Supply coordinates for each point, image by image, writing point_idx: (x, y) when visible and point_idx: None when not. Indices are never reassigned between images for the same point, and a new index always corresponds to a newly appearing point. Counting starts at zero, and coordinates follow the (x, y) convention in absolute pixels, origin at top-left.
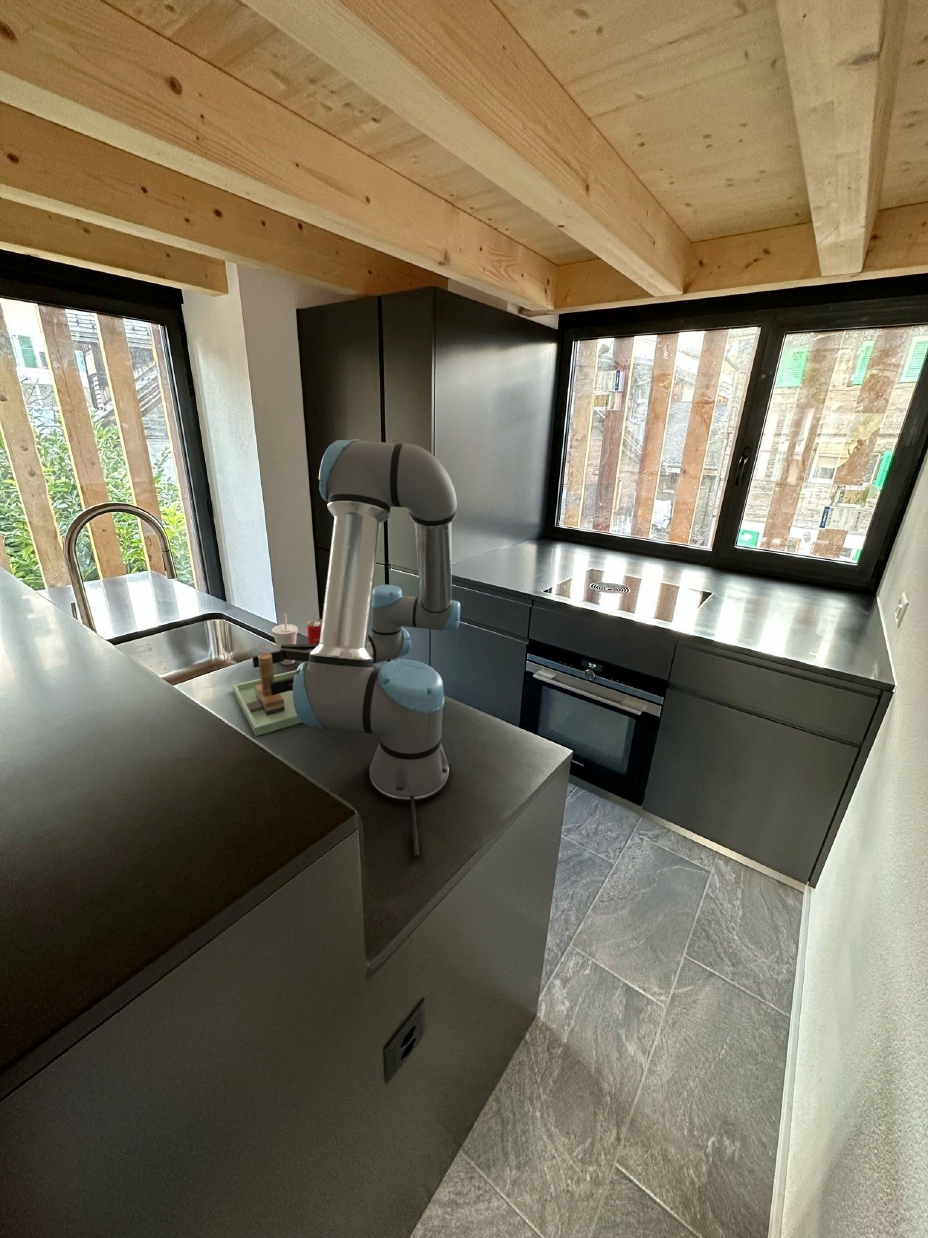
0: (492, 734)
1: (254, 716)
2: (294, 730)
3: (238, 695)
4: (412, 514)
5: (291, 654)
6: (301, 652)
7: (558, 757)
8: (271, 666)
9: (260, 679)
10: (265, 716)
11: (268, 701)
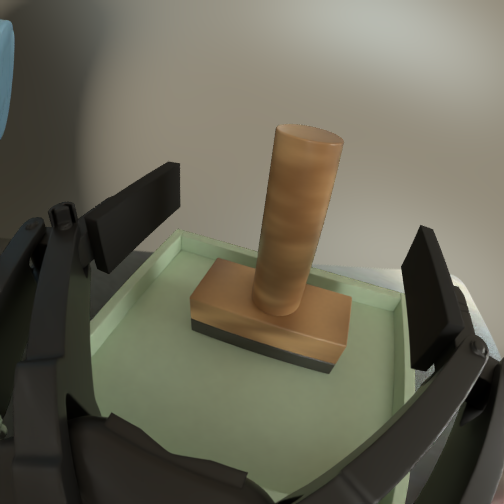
0: None
1: None
2: (108, 296)
3: (348, 278)
4: None
5: (421, 391)
6: (381, 434)
7: None
8: (270, 184)
9: (408, 358)
10: None
11: (222, 267)
